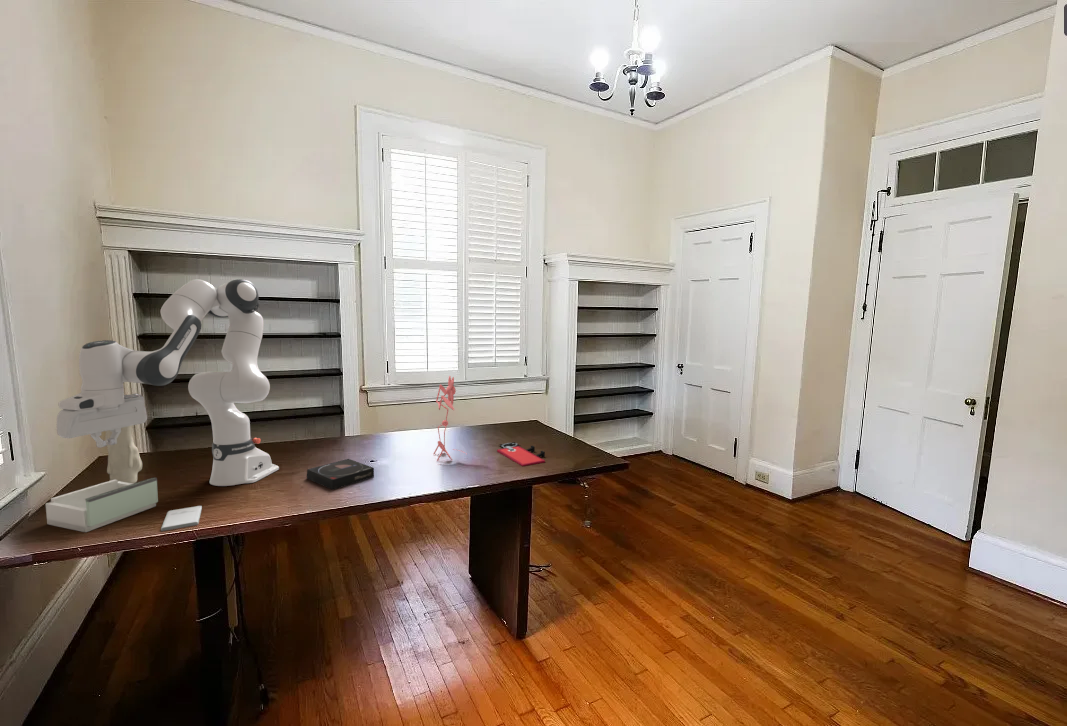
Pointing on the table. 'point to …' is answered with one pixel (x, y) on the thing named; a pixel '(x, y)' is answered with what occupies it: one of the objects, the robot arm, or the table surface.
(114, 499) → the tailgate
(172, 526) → the external hard drive
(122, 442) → the cream statue
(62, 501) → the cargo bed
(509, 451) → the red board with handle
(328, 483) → the portable cd player
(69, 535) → the table surface
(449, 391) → the figurine
